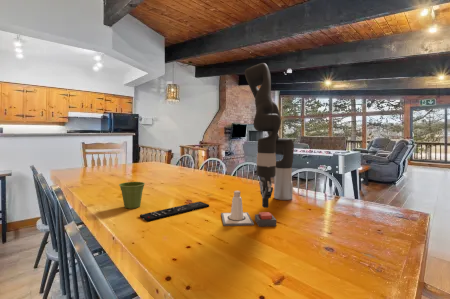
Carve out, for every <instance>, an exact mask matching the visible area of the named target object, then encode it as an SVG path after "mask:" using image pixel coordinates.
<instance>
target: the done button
mask: <svg viewBox="0 0 450 299" xmlns="http://www.w3.org/2000/svg"><path fill="white" fill-rule="evenodd" d="M258 214H259V217H260V219H272V215H273V214H272V213H271V212H269V211H261V212H260V211H259V212H258ZM271 214H272V215H271Z"/></svg>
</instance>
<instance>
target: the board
mask: <svg viewBox="0 0 450 299" xmlns="http://www.w3.org/2000/svg"><path fill="white" fill-rule="evenodd" d="M220 216H221V220H222V225H223V227H228V226H229V227H234V226H235V227H237V226H240V227H241V226H254V225H255V223H254V221H253V220H252V217H251V215H250V214H249V212H248V211H247V212H244V211H243V218H242V219H232V218H231V217H230V216H231V212H221V213H220Z"/></svg>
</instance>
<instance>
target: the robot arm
mask: <svg viewBox="0 0 450 299" xmlns="http://www.w3.org/2000/svg"><path fill="white" fill-rule="evenodd" d="M244 76H245V79H246V81H247V82H246V83H247V84H248V87H249V88H250V91H251V93H252V96H253V97H254V104H255V115H254V118H253V122H252V124H253V128H254V129H255V131H257V132H265V133H266V132H267V136H265V137H260V138H258V140H257V155H256V176H257V177H258V178H260V180H259V183H258V184H259V191H260V195H261V200H262V202H261V204H262V208H266V209H267V208H269V201H270V200H269V199H271V197H272V194H273V198H274V199H276V200H279V201H290V200H293V192H294V191H293V189H294V186H293V184H294V183H293V181H292V180H293V178H292V176H293V173H292V172H293V163H294V153H295V152H294V151H295V144H294V141H293V139H292V138H287V137H285V138H284V137H280V135H279V132H280V127H281V125H282V119H281V117H282V116H281V114H280V110H279V108H278V104H277V103H275V101H273V99H272V85H271V84H272V79H271V72H270V69H269V66H268V65H267V63H265V62H261V63H258V64H255V65H253V66H250V67H248V68H246V69H245V70H244ZM258 86H260V87H258ZM276 155H278V156H279V155H280V156H282V158H281V159H280V160H277V156H276ZM271 178H274V184H273V181H272V179H271Z"/></svg>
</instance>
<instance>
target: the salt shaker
mask: <svg viewBox="0 0 450 299" xmlns="http://www.w3.org/2000/svg"><path fill="white" fill-rule="evenodd" d="M243 210H244V209H243V200H242V197H241V191H240V190H234V191H233V197H232V200H231V210H230V213H231V216H230V217H231V218H232V219H242V218H243V212H244V211H243Z"/></svg>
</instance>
